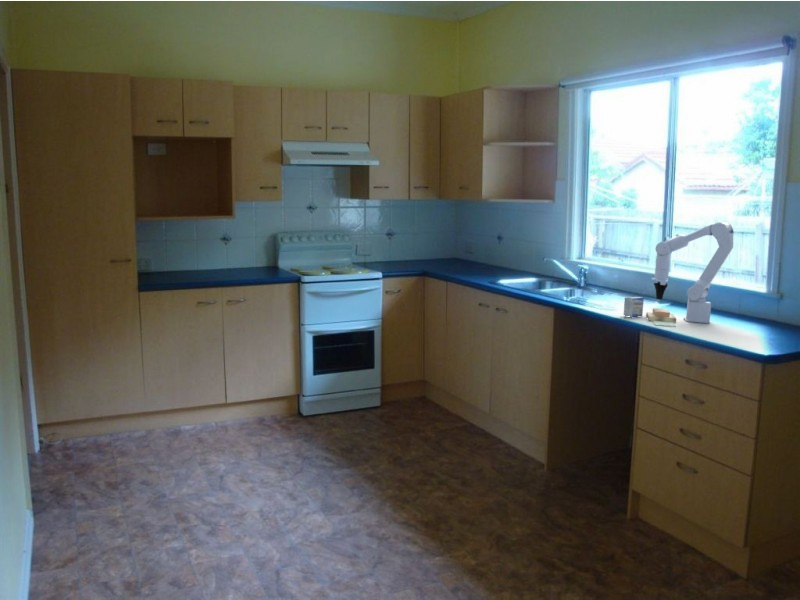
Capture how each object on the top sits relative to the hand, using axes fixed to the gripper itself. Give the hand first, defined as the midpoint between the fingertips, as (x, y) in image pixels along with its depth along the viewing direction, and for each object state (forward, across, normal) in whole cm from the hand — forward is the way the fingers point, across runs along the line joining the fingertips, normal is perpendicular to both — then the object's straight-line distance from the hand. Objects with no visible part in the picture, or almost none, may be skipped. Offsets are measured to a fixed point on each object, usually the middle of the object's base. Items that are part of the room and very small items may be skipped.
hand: (659, 299), depth 326 cm
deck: (+8, +10, 0) cm, 13 cm away
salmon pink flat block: (+6, +10, 0) cm, 11 cm away
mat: (+8, +21, 0) cm, 22 cm away
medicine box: (+8, +7, -11) cm, 15 cm away
